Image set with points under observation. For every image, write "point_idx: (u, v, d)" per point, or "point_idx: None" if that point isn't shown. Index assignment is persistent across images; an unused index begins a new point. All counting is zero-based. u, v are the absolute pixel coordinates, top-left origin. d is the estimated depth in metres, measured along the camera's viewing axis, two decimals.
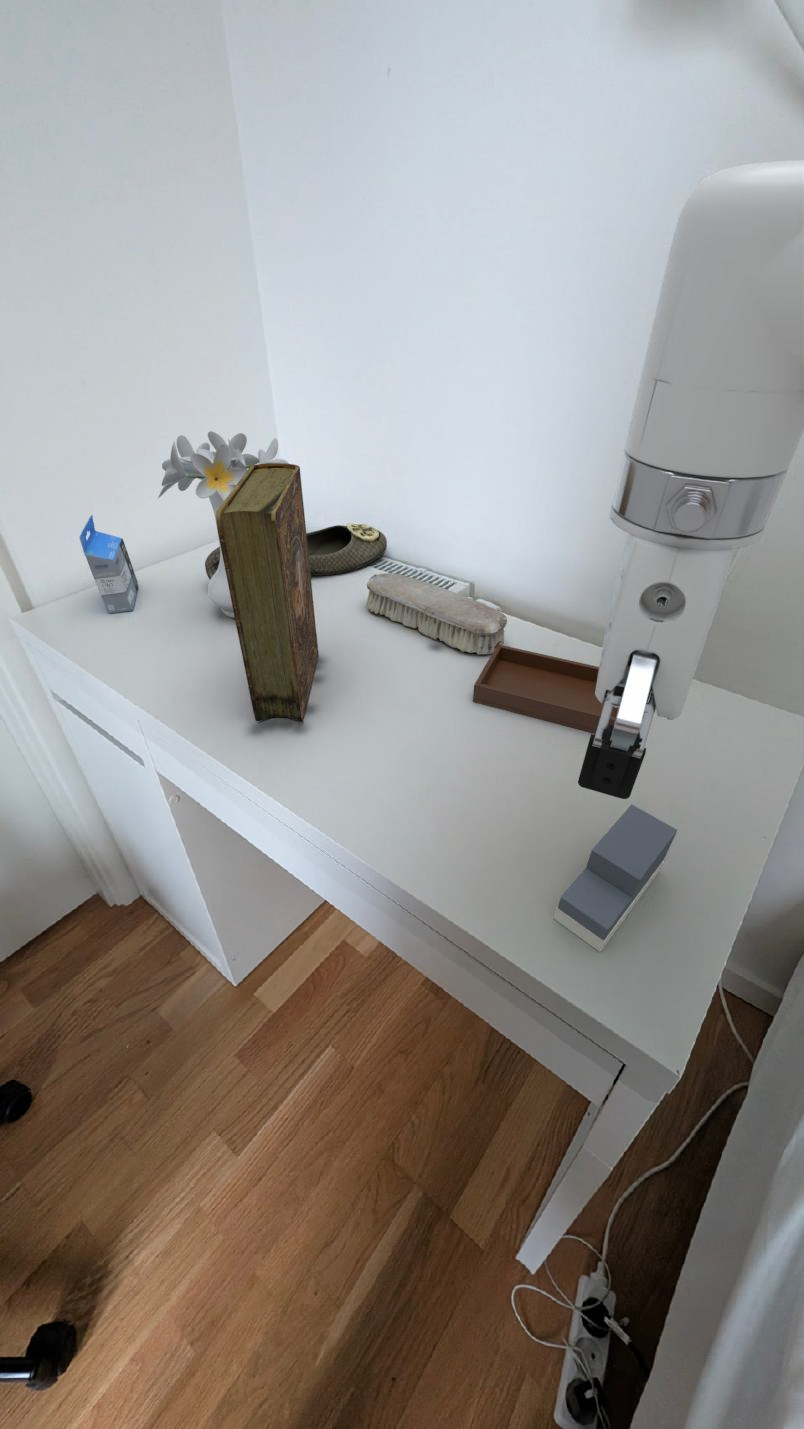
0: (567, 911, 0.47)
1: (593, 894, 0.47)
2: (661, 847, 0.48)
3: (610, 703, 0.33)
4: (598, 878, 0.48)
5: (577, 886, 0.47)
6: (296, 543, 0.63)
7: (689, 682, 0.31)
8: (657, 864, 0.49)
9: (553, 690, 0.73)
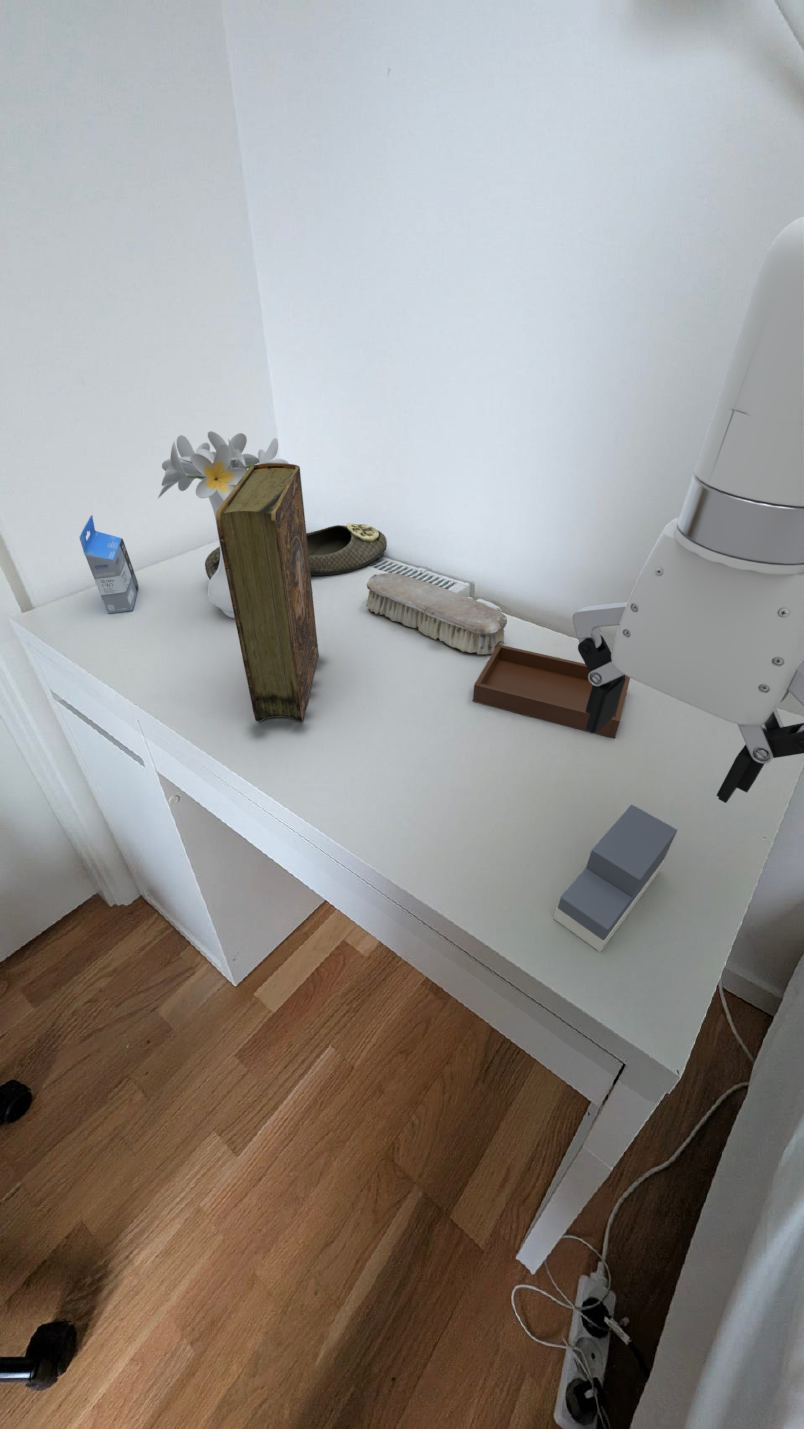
0: (567, 911, 0.47)
1: (592, 894, 0.47)
2: (661, 847, 0.48)
3: None
4: (598, 878, 0.48)
5: (577, 886, 0.47)
6: (296, 543, 0.63)
7: None
8: (657, 864, 0.49)
9: (553, 690, 0.73)
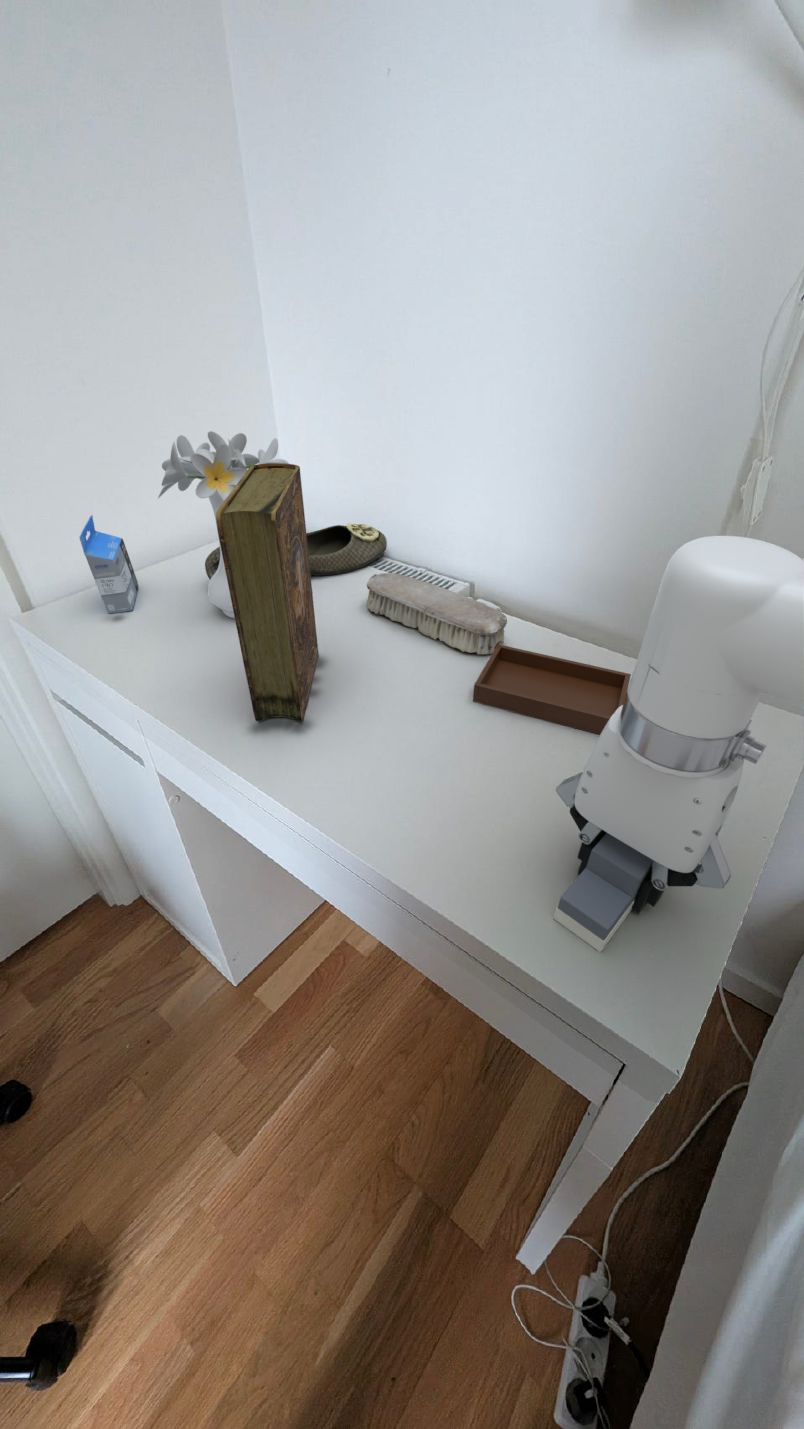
0: (567, 911, 0.47)
1: (592, 894, 0.47)
2: None
3: None
4: (598, 878, 0.48)
5: (577, 886, 0.47)
6: (296, 543, 0.63)
7: None
8: None
9: (553, 690, 0.73)
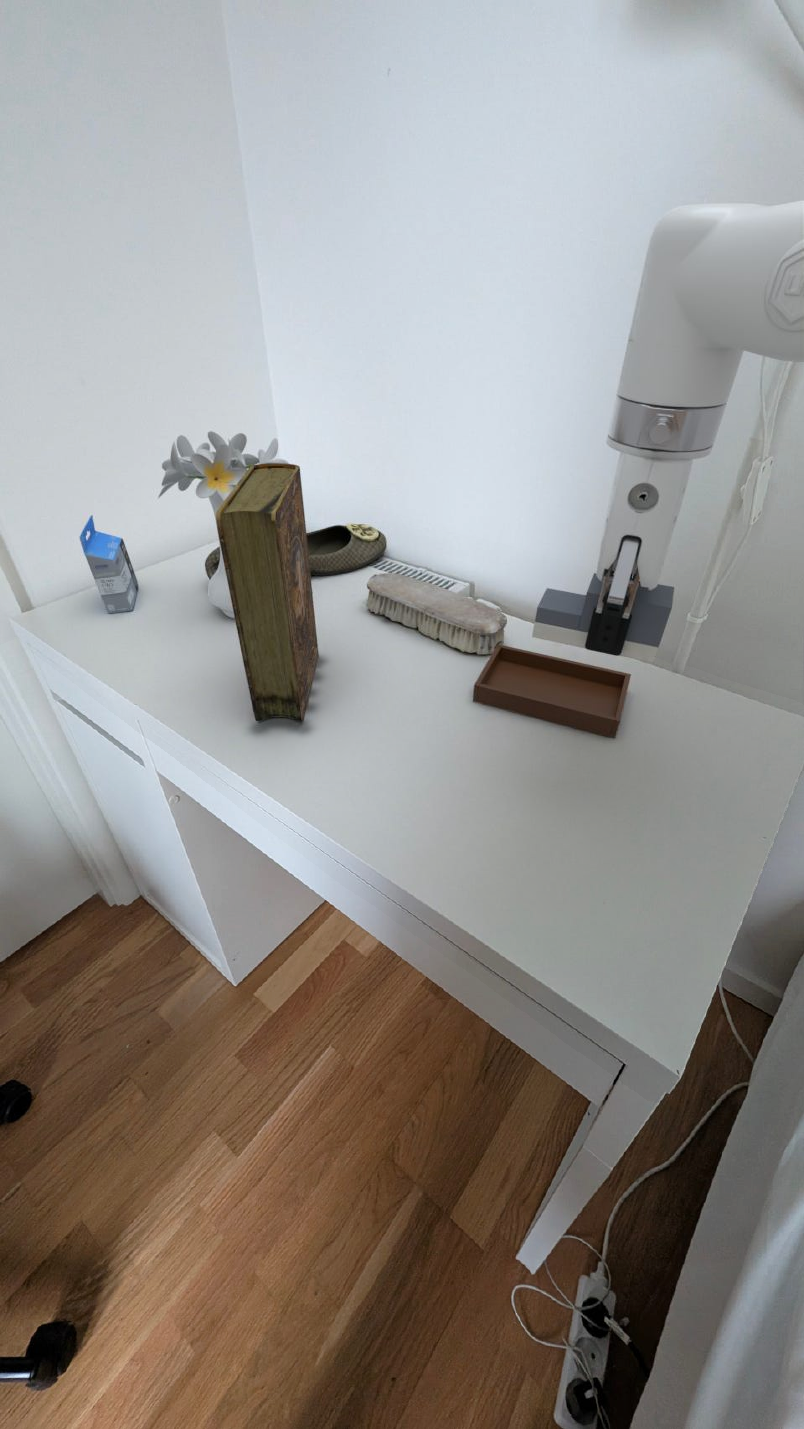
0: None
1: (564, 599, 0.54)
2: (637, 600, 0.49)
3: (606, 584, 0.48)
4: (583, 600, 0.54)
5: (564, 593, 0.55)
6: (296, 543, 0.63)
7: (662, 558, 0.44)
8: (635, 629, 0.51)
9: (553, 690, 0.73)
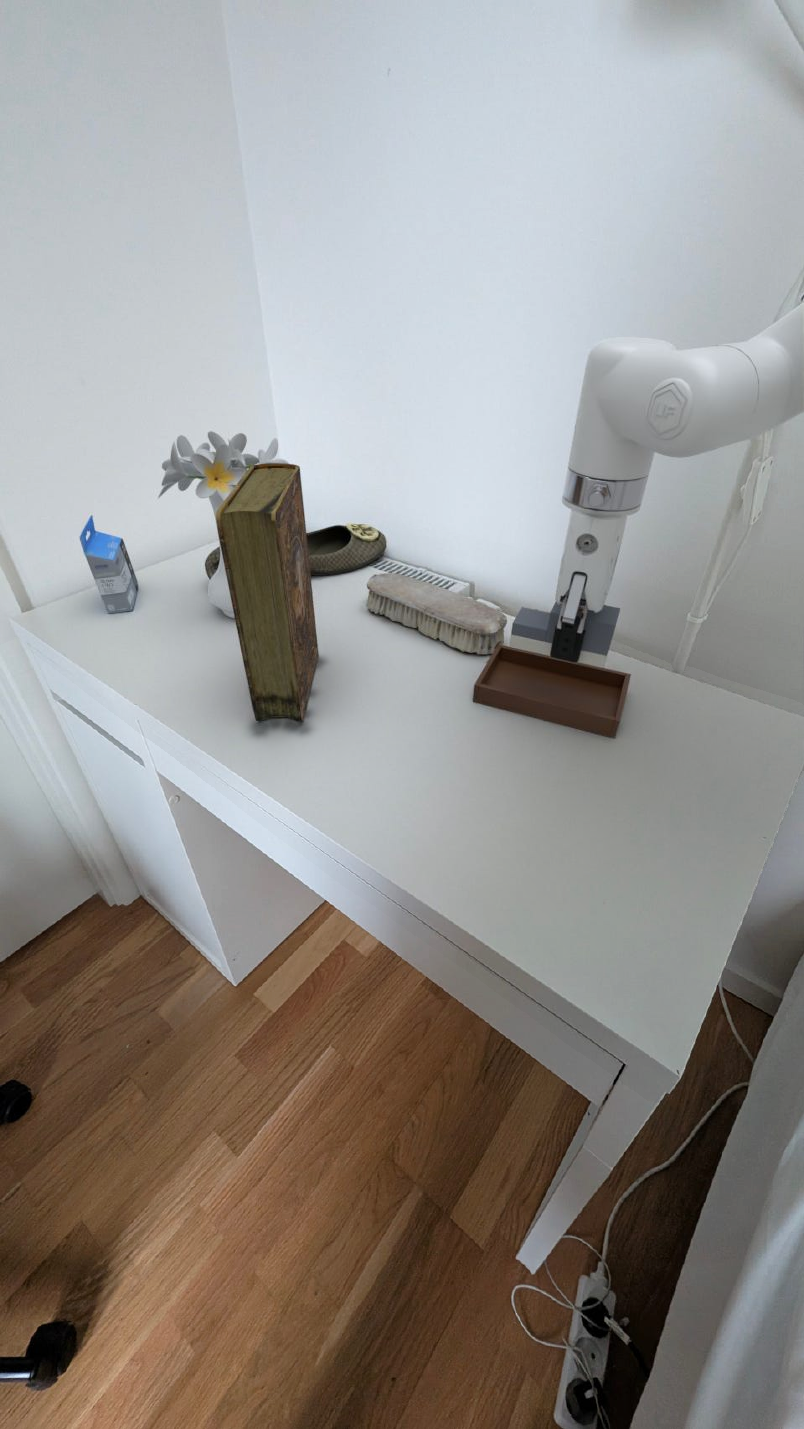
0: None
1: (534, 616, 0.68)
2: (589, 619, 0.63)
3: (564, 607, 0.62)
4: None
5: (535, 611, 0.69)
6: (296, 543, 0.63)
7: (603, 588, 0.57)
8: (588, 641, 0.64)
9: (553, 690, 0.73)
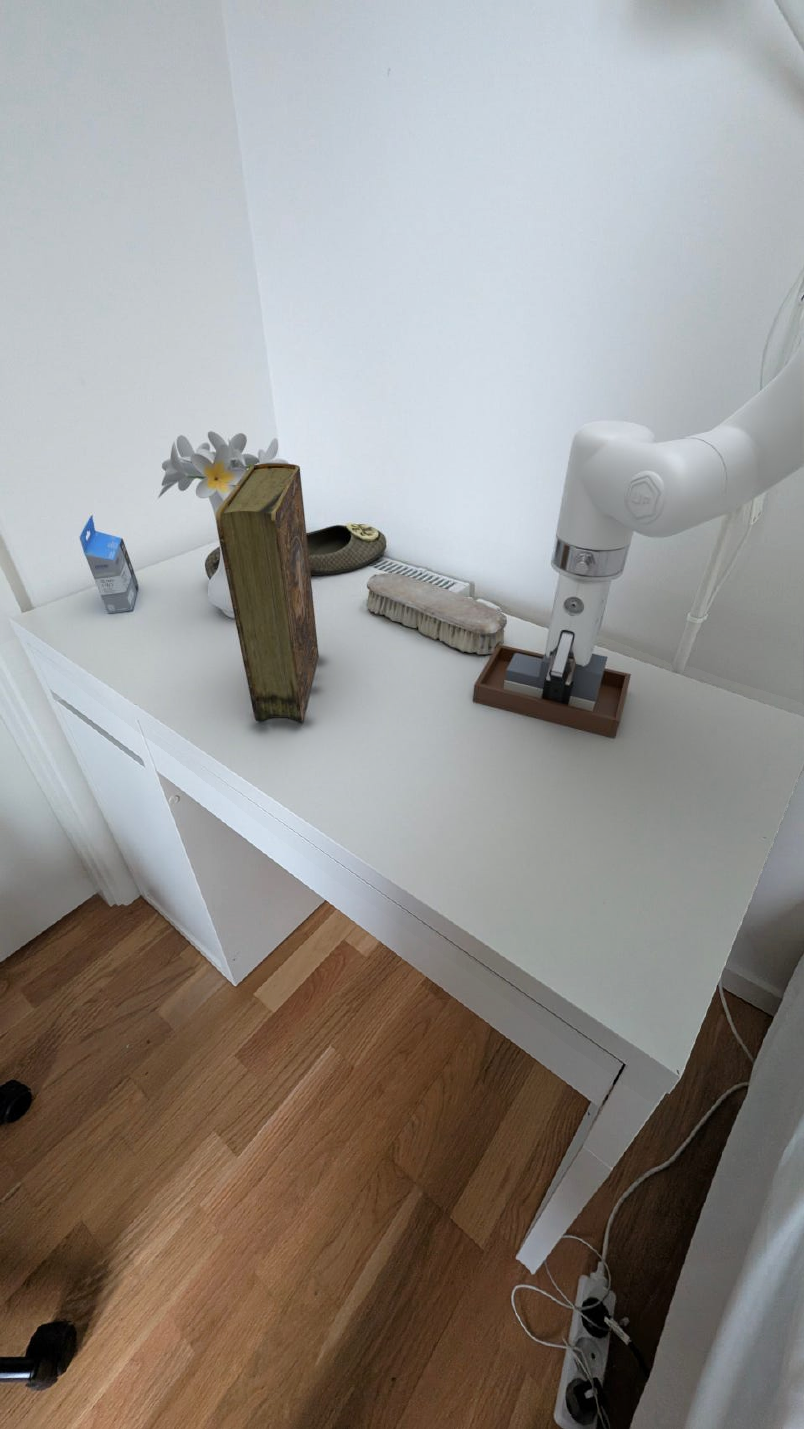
0: None
1: (527, 663, 0.72)
2: (577, 668, 0.67)
3: (553, 660, 0.65)
4: None
5: (528, 657, 0.73)
6: (296, 543, 0.63)
7: (589, 646, 0.61)
8: (577, 688, 0.68)
9: None
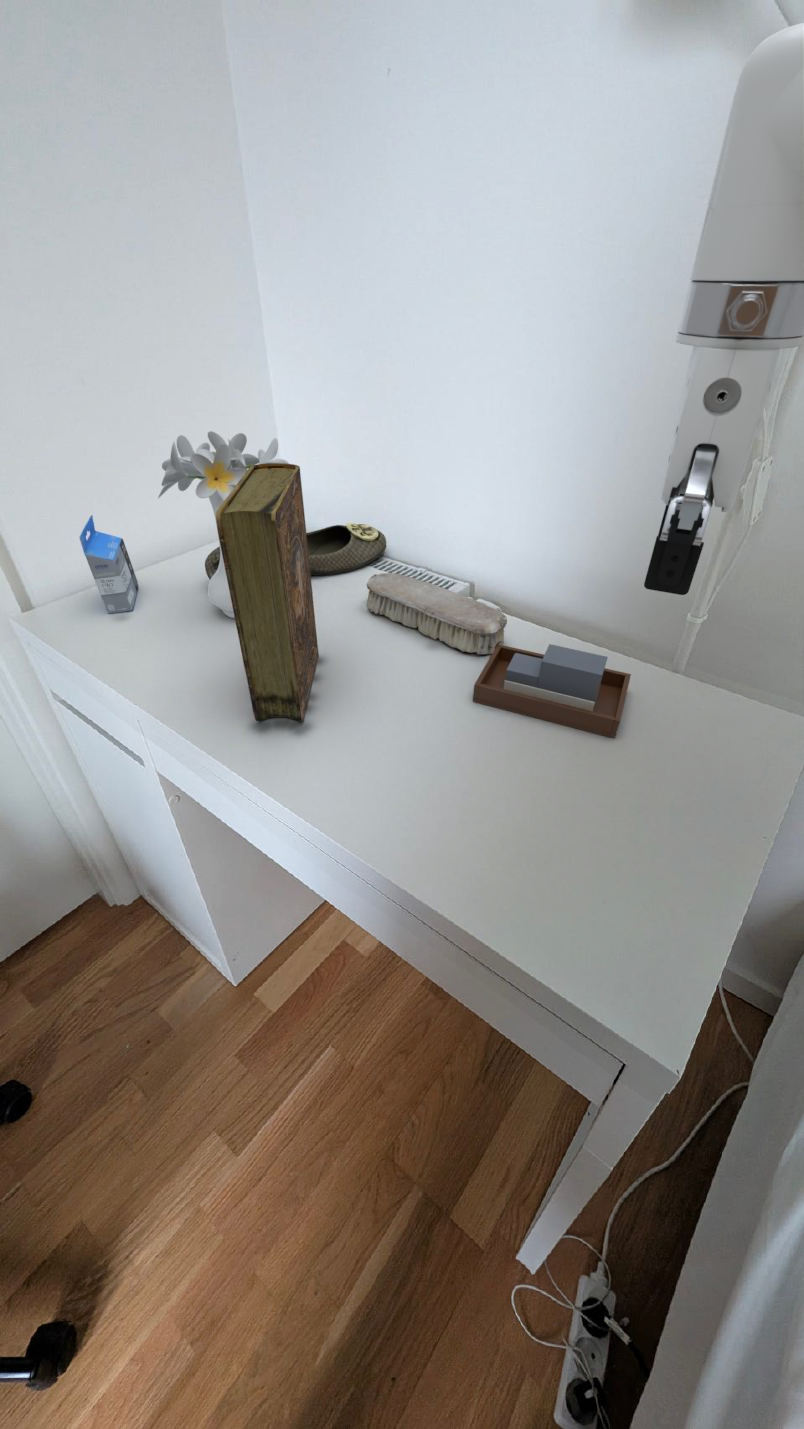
0: None
1: (527, 663, 0.72)
2: (577, 668, 0.67)
3: (675, 502, 0.41)
4: None
5: (528, 657, 0.73)
6: (296, 543, 0.63)
7: (742, 470, 0.38)
8: (577, 688, 0.68)
9: None
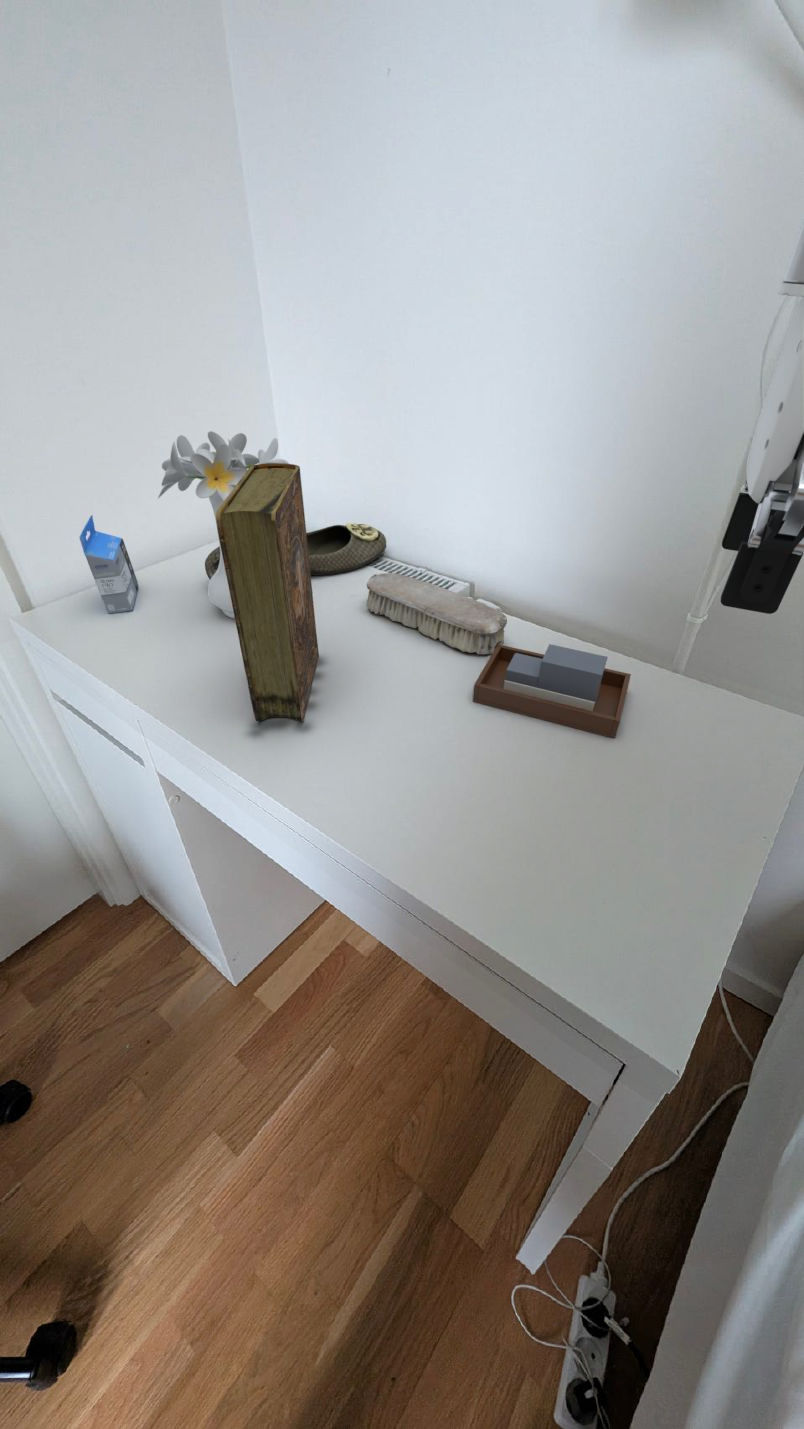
0: None
1: (527, 663, 0.72)
2: (577, 668, 0.67)
3: (770, 499, 0.33)
4: None
5: (528, 657, 0.73)
6: (296, 543, 0.63)
7: None
8: (577, 688, 0.68)
9: None
